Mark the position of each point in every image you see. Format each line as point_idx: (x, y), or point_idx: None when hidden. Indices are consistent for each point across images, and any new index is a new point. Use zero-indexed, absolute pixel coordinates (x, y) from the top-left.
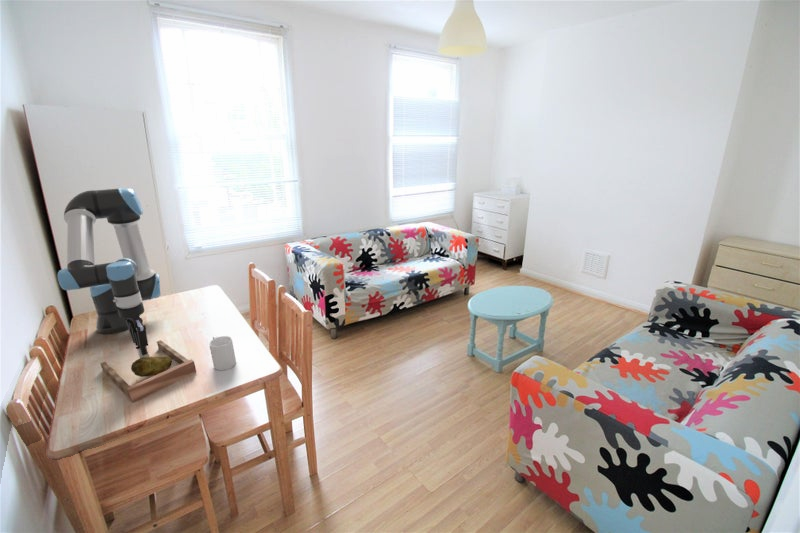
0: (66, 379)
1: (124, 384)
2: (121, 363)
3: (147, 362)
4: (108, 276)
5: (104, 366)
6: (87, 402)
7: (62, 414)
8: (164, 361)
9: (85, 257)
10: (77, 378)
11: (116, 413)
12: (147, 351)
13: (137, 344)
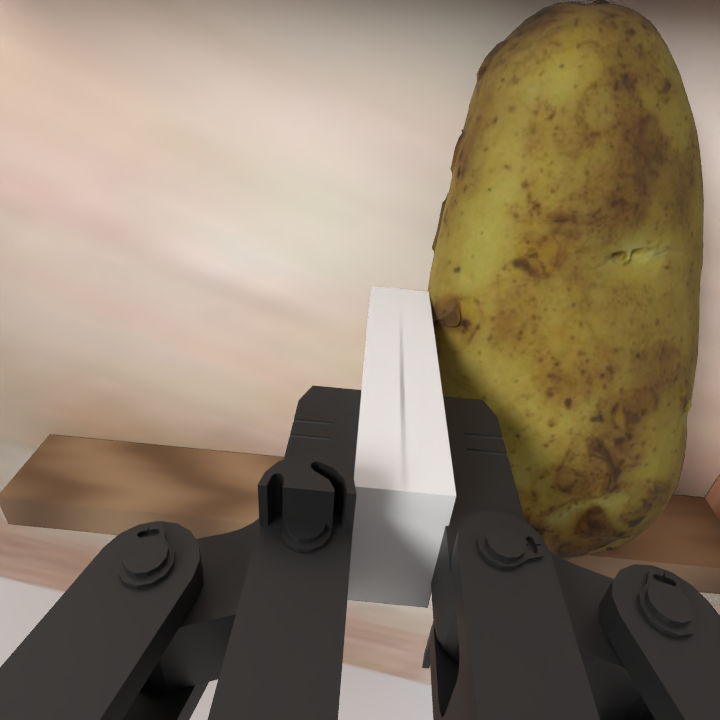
0: (13, 579)
1: (592, 569)
2: (9, 339)
3: (673, 463)
4: None
5: (101, 529)
6: (415, 612)
7: (410, 675)
8: (691, 188)
9: None
10: (47, 554)
11: (713, 596)
12: (440, 386)
13: (441, 706)
